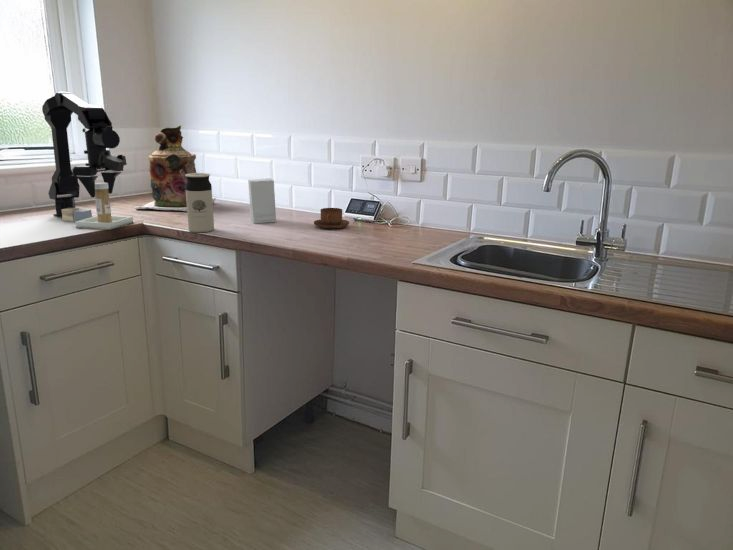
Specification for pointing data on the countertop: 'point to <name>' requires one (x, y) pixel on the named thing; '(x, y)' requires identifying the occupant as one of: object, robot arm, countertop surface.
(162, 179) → the cookie jar
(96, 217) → the sage tray
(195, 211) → the travel mug
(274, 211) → the skincare box
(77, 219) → the slate block
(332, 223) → the cup and saucer
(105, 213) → the sprinkles bottle
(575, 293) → the countertop surface
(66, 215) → the birch block
